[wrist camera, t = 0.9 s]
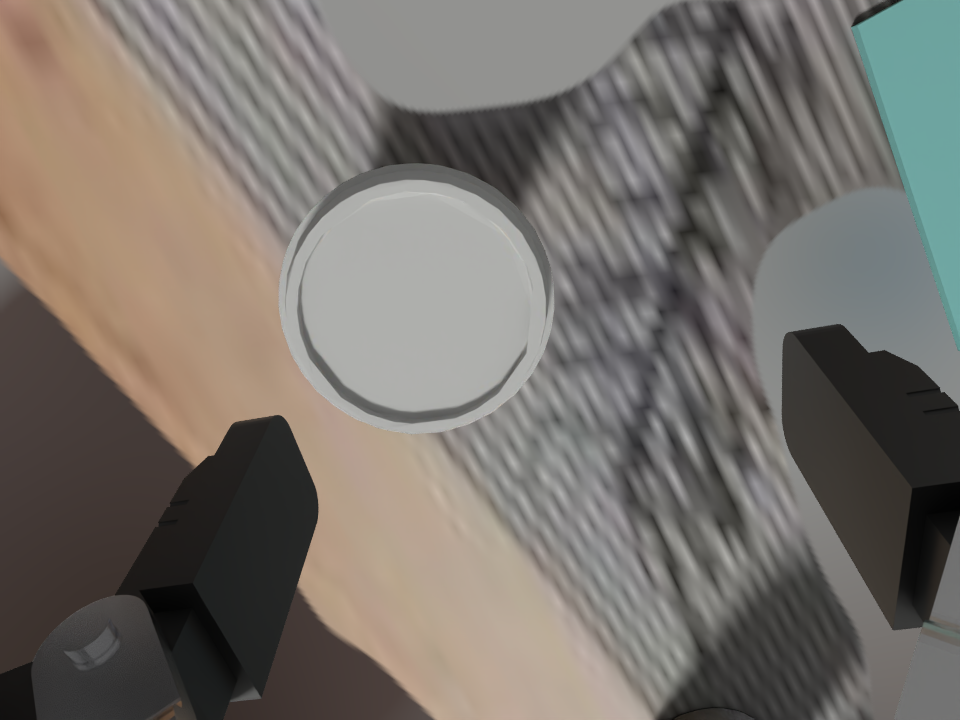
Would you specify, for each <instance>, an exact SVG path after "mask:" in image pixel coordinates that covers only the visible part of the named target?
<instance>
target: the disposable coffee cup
mask: <svg viewBox="0 0 960 720" xmlns="http://www.w3.org/2000/svg"><path fill="white" fill-rule="evenodd" d="M279 312H280V318H281V324H282V330H283V332H284V335H285V338H286V341H287V343H288V346H289V349H290V352H291V354H292V356H293V358H294V360H295V362H296V363H297V365H298V367H299V368H300V370H301V372H302V373H303V375H304V376H305V377H306V378H307V380H308V381H309V382H310V383H311V384H312V386H313V387H314V388H315V389H316V390H317V392H318V393H320V394H321V395H322V396H323V397H324V398H326V399H327V400H328V401H329V402H330V403H331V404H333V405H334V406H335V407H336V408H338V409H340V410H341V411H343V412H345V413H346V414H348V415H349V416H351V417H353V418H355V419H357V420H359V421H362V422H364V423H367V424H369V425H372V426H374V427H376V428H380V429H385V430H388V431H396V432H402V433H407V434H419V433H433V432H442V431H448V430H451V429H454V428H457V427H461V426H465V425H468V424H470V423H472V422H474V421H476V420H478V419H480V418H482V417H484V416H486V415H488V414H490V413H492V412H494V411H495V410H496V409H497V408H499V407H500V406H501V405H502V404H504V403H505V402H506V401H507V400H508V399H510V398H511V397H512V396H513V395H515V394H516V393H517V391H518V390H519V389H520V388H521V387H522V385H523V384H524V383H525V382H526V381H527V379H528V378H529V377H530V376H531V375H532V373H533V371H534V369H535V367H536V366H537V364H538V362H539V360H540V358H541V357H542V355H543V353H544V350H545V347H546V344H547V341H548V338H549V335H550V332H551V327H552V321H553V314H554V284H553V278H552V272H551V267H550V264H549V261H548V258H547V255H546V252H545V250H544V247H543V245H542V243H541V241H540V239H539V237H538V235H537V233H536V231H535V229H534V228H533V226H532V225H531V224H530V223H529V221H528V220H527V219H526V217H525V216H524V215H523V214H522V212H521V211H520V210H519V208H518V207H517V206H516V205H514V204H513V203H512V202H511V201H510V200H509V199H508V198H506V197H505V196H504V195H503V194H502V193H501V192H500V191H499V190H497V189H496V188H495V187H493V186H491V185H489V184H487V183H486V182H484V181H482V180H480V179H478V178H476V177H474V176H472V175H470V174H469V173H465V172H462V171H459V170H455V169H452V168H449V167H445V166H442V165H434V164H422V163H409V164H398V165H387V166H384V167H381V168H378V169H374V170H371V171H368V172H365V173H362V174H359V175H357V176H355V177H354V178H352V179H350V180H348V181H346V182H344V183H342V184H341V185H339V186H338V187H337V188H335V189H334V190H332V191H331V192H330V193H328V194H327V195H326V196H324V197H323V198H322V199H321V200H320V201H319V202H318V203H317V204H316V205H315V206H314V207H313V209H312V210H311V211H310V212H309V213H308V214H307V216H306V217H305V218H304V220H303V221H302V223H301V224H300V226H299V227H298V228H297V230H296V231H295V234H294V236H293V238H292V240H291V242H290V244H289V247H288V249H287V251H286V255H285V258H284V261H283V265H282V270H281V275H280V280H279Z"/></svg>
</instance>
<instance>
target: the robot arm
mask: <svg viewBox="0 0 960 720" xmlns="http://www.w3.org/2000/svg"><path fill="white" fill-rule="evenodd" d="M782 361H783V362H782V366H783V367H782V424H783V430H784V435H785V439H786V443H787V446H788V449H789V451H790V453H791V455H792V457H793V459H794V461H795V463H796V464H797V466H798V468H799V469H800V471H801V473H802V474H803V476H804V478H805V480H806V481H807V483H808V485H809V487H810V488H811V490H812V492H813V493H814V495H815V497H816V499H817V500H818V502H819V504H820V506H821V507H822V509H823V511H824V512H825V514H826V516H827V518H828V519H829V521H830V523H831V524H832V526H833V528H834V530H835V531H836V533H837V535H838V537H839V538H840V540H841V542H842V543H843V545H844V547H845V549H846V550H847V552H848V554H849V556H850V557H851V559H852V561H853V562H854V564H855V566H856V568H857V569H858V571H859V573H860V574H861V576H862V578H863V580H864V581H865V583H866V585H867V586H868V588H869V590H870V592H871V593H872V595H873V597H874V598H875V600H876V602H877V604H878V605H879V607H880V609H881V611H882V612H883V614H884V616H885V617H886V619H887V621H888V622H889V624H890V626H891V628H892V630H901V629H910V628H917V627H922V629H921V632H920V635H919V638H918V641H917V645H916V648H915V651H914V655H913V658H912V661H911V665H910V668H909V672H908V675H907V678H906V681H905V685H904V688H903V692H902V695H901V698H900V701H899V705H898V708H897V711H896V715H895V718H894V720H960V411H959V409H958V405H957V404H956V403H955V402H954V401H953V400H952V399H951V398H950V397H948V395H947V394H946V393H945V392H942V393H941V391H940V387H939V386H938V385H937V384H936V383H935V382H934V381H933V380H932V379H931V378H930V377H928V375H926V373H925V372H924V371H922V370H921V369H920V368H919V367H918V366H917V365H914V364H912V363H910V362H908V361H906V360H904V359H902V358H900V357H898V356H896V355H894V354H891V353H889V352H887V351H885V350H883V351H877V352H871V353H868V352H867V351H866V349H864V347H863V346H862V345H861V344H860V343H859V342H858V341H857V340H856V339H855V338H854V336H852V334H851V333H850V332H849V331H848V330H847V329H846V328H845V327H844V326H843V325H841V324H836V325H830V326H824V327H817V328H812V329H805V330H799V331H793V332H788V333H787V334H786V335H785V337H784V341H783V359H782ZM317 520H318V498H317V492H316V488H315V485H314V483H313V480H312V478H311V476H310V473H309V471H308V469H307V466H306V464H305V462H304V459H303V457H302V454H301V452H300V450H299V447H298V445H297V443H296V440H295V438H294V436H293V433H292V431H291V429H290V426H289V424H288V423H287V421H286V420H285V419H284V418H283V417H282V416H280V415H275V416H269V417H263V418H257V419H251V420H245V421H239V422H235V423H233V424H232V425H231V427H230V428H229V430H228V432H227V434H226V435H225V437H224V439H223V441H222V443H221V444H220V446H219V448H218V450H217V452H216V453H215V455H214V456H208V457H207V458H206V459H205V460H204V461H202V462H201V463H200V464H199V465H198V466H197V467H196V468H195V469H194V470H193V471H192V472H191V473H190V474H189V475H188V476H187V477H186V478H184V480H183V481H182V483H181V485H180V486H179V488H178V490H177V492H176V493H175V495H174V497H173V498H172V500H171V502H170V507H167V508H166V510H165V512H164V514H163V515H162V517H161V519H160V520H159V522H158V523H159V527H155V529H154V530H153V532H152V534H151V535H150V537H149V539H148V540H147V542H146V544H145V545H144V547H143V549H142V551H141V552H140V554H139V556H138V557H137V559H136V561H135V562H134V564H133V566H132V567H131V569H130V571H129V572H128V574H127V576H126V577H125V579H124V581H123V583H122V584H121V586H120V587H119V589H118V591H117V592H116V594H115V596H111V597H108V598H104V599H101V600H99V601H97V602H94V603H92V604H90V605H88V606H86V607H84V608H82V609H80V610H79V611H77V612H76V613H74V614H73V615H71V616H70V617H69V618H68V619H66V620H65V621H64V622H62V624H60V625H59V626H58V627H57V628H56V629H55V630H54V631H53V632H52V633H51V634H50V635H49V636H48V637H47V639H46V640H45V641H44V642H43V644H42V645H41V647H40V648H39V650H38V652H37V654H36V656H35V658H34V660H33V662H31V663H28V664H25V665H23V666H20V667H17V668H15V669H13V670H10V671H7V672H5V673H2V674H0V720H223V719H224V716H225V713H226V710H227V707H228V705H229V702H233V701H242V700H251V699H260V698H262V694H263V691H264V688H265V685H266V682H267V679H268V676H269V672H270V669H271V666H272V663H273V660H274V657H275V654H276V650H277V647H278V644H279V641H280V638H281V635H282V631H283V628H284V625H285V621H286V619H287V615H288V612H289V609H290V606H291V603H292V600H293V597H294V594H295V590H296V587H297V584H298V581H299V578H300V575H301V571H302V568H303V565H304V562H305V559H306V556H307V552H308V549H309V546H310V543H311V540H312V537H313V533H314V530H315V527H316V524H317Z"/></svg>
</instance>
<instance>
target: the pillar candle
mask: <svg viewBox="0 0 960 720" xmlns="http://www.w3.org/2000/svg"><path fill="white" fill-rule="evenodd" d="M673 720H755V719H754V718H752V717H750V716H748V715H747V714H744V713H742V712H739V711H736V710H730V709H724V708H709V709H701V710H696V711H694V712H690V713H687V714H683V715H681V716H678V717H676V718H675V719H673Z"/></svg>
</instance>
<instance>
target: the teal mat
mask: <svg viewBox="0 0 960 720" xmlns="http://www.w3.org/2000/svg"><path fill="white" fill-rule="evenodd" d="M851 28H852V31H853V34H854V37H855V40H856V43H857V46H858V49H859V52H860V55H861V58H862V61H863V64H864V67H865V70H866V73H867V76H868V79H869V82H870V85H871V88H872V91H873V94H874V97H875V100H876V104H877V107H878V110H879V113H880V116H881V119H882V122H883V125H884V128H885V131H886V134H887V137H888V140H889V143H890V146H891V149H892V152H893V155H894V158H895V161H896V164H897V167H898V170H899V173H900V176H901V179H902V182H903V185H904V188H905V191H906V194H907V197H908V200H909V203H910V206H911V209H912V213H913V216H914V218H915V222H916V225H917V227H918V231H919V234H920V236H921V240H922V243H923V246H924V249H925V252H926V255H927V258H928V261H929V264H930V267H931V270H932V273H933V276H934V279H935V282H936V285H937V288H938V291H939V294H940V297H941V300H942V303H943V306H944V309H945V312H946V315H947V319H948V321H949V325H950V327H951V330H952V334H953V337H954V340H955V342H956V346H957V349H958V351H960V0H900V1H898V2H897V3H895V4H893V5H891V6H889V7H887V8H886V9H884V10H882V11H880V12H878V13H876V14H875V15H873V16H871V17H869V18H867V19H865V20H864V21H862V22H860V23H858V24H856V25H854V26H853V27H851Z"/></svg>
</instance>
